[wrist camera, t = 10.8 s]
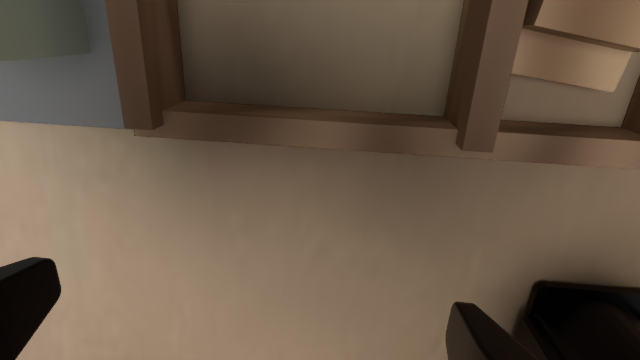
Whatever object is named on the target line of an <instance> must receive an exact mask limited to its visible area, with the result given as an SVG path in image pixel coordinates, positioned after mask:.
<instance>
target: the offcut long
mask: <svg viewBox="0 0 640 360" xmlns="http://www.w3.org/2000/svg"><path fill="white" fill-rule="evenodd" d="M632 53H633V52H629V51H623V50H619V49H614V48H609V47H605V46H600V45H596V44H591V43H587V42H582V41H578V40H573V39H568V38H564V37H559V36H555V35H550V34H546V33H541V32H537V31H532V30H527V29H523V28H522V30H521V34H520V39H519V43H518V47H517V52H516V56H515V60H514V64H513V69H512V74H518V75H523V76H528V77H534V78H539V79H544V80H550V81H555V82H560V83H566V84H571V85H576V86H582V87H587V88H592V89H598V90H603V91H608V92H614V91H615V89H616V87H617V84H618V82H619V80H620V78H621V76H622V74H623V72H624V70H625V67H626V65H627V63H628V61H629V59H630V57H631V55H632Z"/></svg>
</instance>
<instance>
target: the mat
mask: <svg viewBox="0 0 640 360" xmlns="http://www.w3.org/2000/svg"><path fill="white" fill-rule="evenodd" d="M81 3H82V9H83V15H84V20H85V26H86V32H87V38H88V43H89V49H90V53H85V54H75V55H64V56H54V57H43V58H33V59H23V60H12V61H2V62H0V121H13V122H28V123H43V124H58V125H73V126H89V127H104V128H119V129H125V128H124V123H123V116H122V110H121V103H120V97H119V90H118V84H117V77H116V71H115V64H114V58H113V51H112V45H111V38H110V32H109V25H108V19H107V12H106V6H105V0H81Z"/></svg>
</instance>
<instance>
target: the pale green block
mask: <svg viewBox="0 0 640 360" xmlns="http://www.w3.org/2000/svg"><path fill="white" fill-rule="evenodd" d="M85 53H90V49H89V43H88V38H87V32H86V26H85V20H84V15H83V9H82V3H81V0H0V62H2V61H12V60H23V59H33V58H43V57H54V56H64V55H75V54H85Z"/></svg>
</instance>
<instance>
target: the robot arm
mask: <svg viewBox="0 0 640 360" xmlns="http://www.w3.org/2000/svg"><path fill="white" fill-rule="evenodd" d="M545 290H547V291H546V292H544V293H542V292H543V291H545ZM60 294H61V285H60V281H59V277H58V273H57V268H56V265H55V262H54V261H53V260H51V259H49V258H40V257H31V258H28V259H24V260H21V261H18V262H15V263H12V264H9V265H6V266H3V267H0V360H15V359H16V358H17V357H18V355H19V354H20V352H21V351H22V350H23V348H24V347H25V346H26V344H27V343H28V341H29V340H30V339H31V337H32V336H33V334H34V333H35V331H36V330H37V329H38V327H39V326H40V324H41V323H42V322H43V320H44V319H45V317H46V316H47V315H48V313H49V312H50V310H51V309H52V308H53V306H54V305H55V303H56V302H57V300H58V299H59V297H60ZM446 347H447V354H448V360H640V290H637V289H625V288H612V287H600V286H588V285H576V284H563V283H551V282H540V283H538V284H536V285H535V286H534V288H533V291H532V294H531V297H530V300H529V303H528V306H527V309H526V312H525V315H524V316H523V318H522V319H521V322H520V326H519V329H518V332H517V335H516V338H515V339H514V338H513V337H512V336H511V335H510V334H509V333H507V332H506V331H505V330H504V329H503V328H502V327H500V326H499V325H498V324H497V323H496V322H495V321H494V320H492V319H491V318H490V317H489V316H488V315H487V314H486V313H484V312H483V311H482V310H481V309H480V308H479V307H478V306H476V305H475V304H473V303H465V302H455V303H453V305H452V308H451V312H450V316H449V321H448V325H447V330H446Z"/></svg>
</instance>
